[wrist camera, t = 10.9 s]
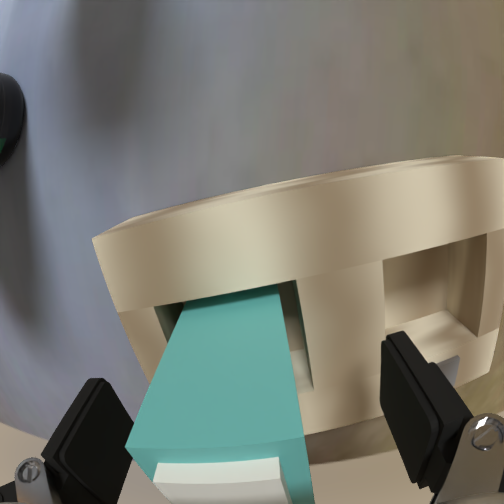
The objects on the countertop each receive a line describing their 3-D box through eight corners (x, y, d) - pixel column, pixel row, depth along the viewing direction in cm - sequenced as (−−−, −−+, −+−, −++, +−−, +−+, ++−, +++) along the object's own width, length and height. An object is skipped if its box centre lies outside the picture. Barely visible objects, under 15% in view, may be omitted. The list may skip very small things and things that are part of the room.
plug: (274, 269, 15) (307, 459, 5) (287, 338, 16) (318, 524, 6) (194, 284, 15) (117, 465, 5) (214, 350, 16) (182, 531, 6)
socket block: (454, 155, 14) (510, 158, 9) (454, 336, 17) (491, 374, 13) (132, 217, 15) (87, 240, 11) (196, 396, 18) (184, 451, 14)
